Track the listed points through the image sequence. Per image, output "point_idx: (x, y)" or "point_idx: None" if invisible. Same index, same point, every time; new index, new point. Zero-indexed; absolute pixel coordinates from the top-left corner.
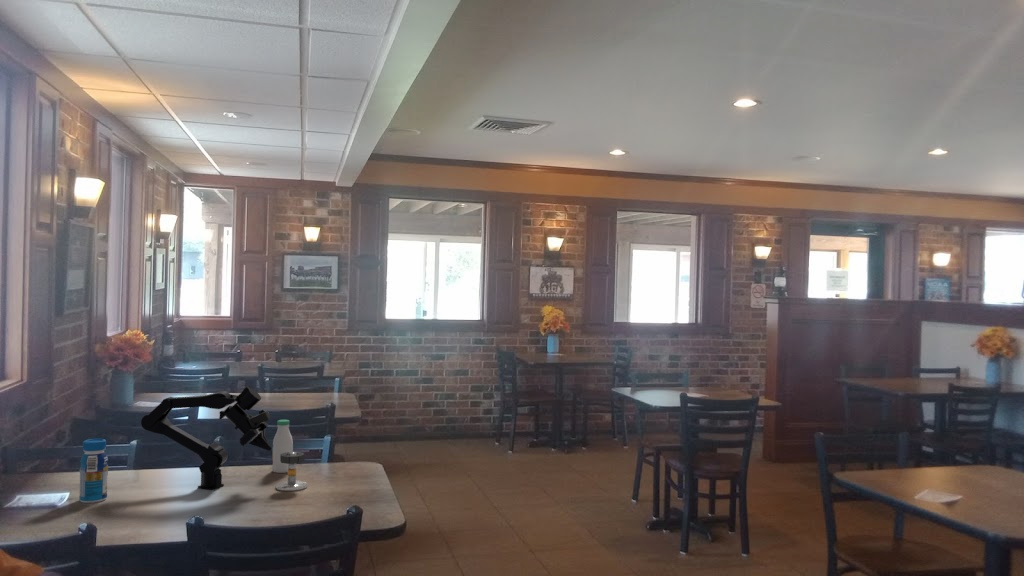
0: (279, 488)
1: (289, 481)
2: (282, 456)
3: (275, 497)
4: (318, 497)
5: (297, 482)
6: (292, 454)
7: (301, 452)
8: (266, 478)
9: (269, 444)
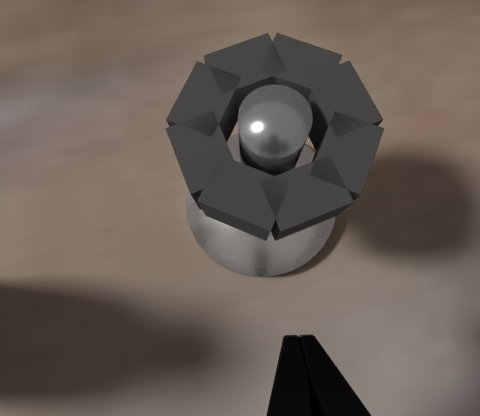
0: (324, 243)
1: None
2: (361, 191)
3: (440, 231)
4: (407, 61)
5: None
6: (309, 112)
7: (198, 68)
8: (84, 381)
9: (289, 388)
